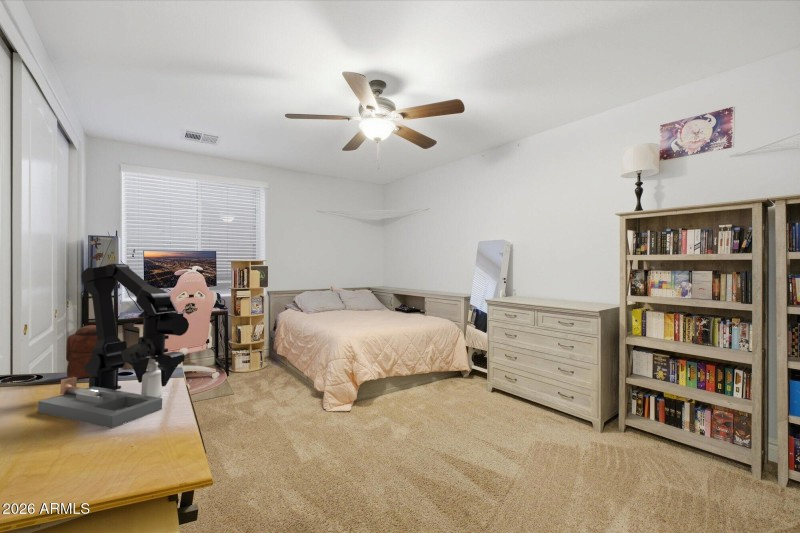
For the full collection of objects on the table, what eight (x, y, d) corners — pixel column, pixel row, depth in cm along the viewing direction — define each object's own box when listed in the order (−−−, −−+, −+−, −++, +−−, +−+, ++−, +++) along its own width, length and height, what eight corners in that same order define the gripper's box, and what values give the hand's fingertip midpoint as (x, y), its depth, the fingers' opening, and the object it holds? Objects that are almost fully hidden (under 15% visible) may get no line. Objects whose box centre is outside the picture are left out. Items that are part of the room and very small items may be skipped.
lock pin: (72, 391, 106) (73, 376, 106) (102, 396, 102) (103, 381, 102) (60, 394, 103) (61, 379, 103) (90, 400, 99) (91, 385, 99)
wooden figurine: (107, 371, 136) (109, 322, 137) (110, 374, 132) (112, 325, 132) (64, 376, 128) (66, 325, 128) (65, 381, 123) (68, 328, 124)
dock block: (92, 396, 111) (93, 381, 111) (161, 408, 103) (162, 393, 103) (37, 412, 98) (38, 395, 98) (112, 428, 90) (112, 410, 90)
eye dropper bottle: (164, 398, 111) (166, 358, 111) (142, 402, 107) (144, 361, 107) (160, 394, 114) (162, 355, 114) (139, 398, 110) (140, 358, 110)
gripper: (104, 334, 106) (101, 388, 106) (153, 340, 101) (150, 396, 100) (141, 329, 117) (138, 377, 116) (187, 333, 111) (184, 385, 111)
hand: (152, 384), depth 111 cm, fingers open, 9 cm apart
